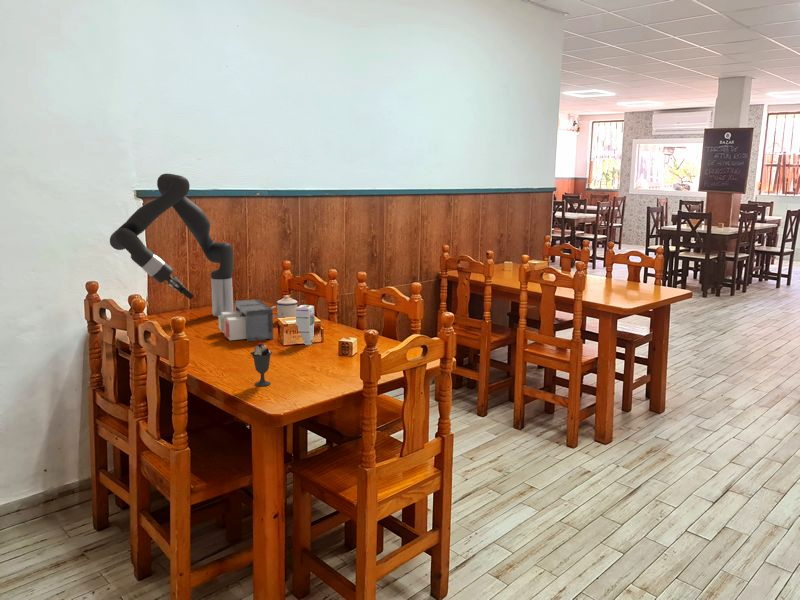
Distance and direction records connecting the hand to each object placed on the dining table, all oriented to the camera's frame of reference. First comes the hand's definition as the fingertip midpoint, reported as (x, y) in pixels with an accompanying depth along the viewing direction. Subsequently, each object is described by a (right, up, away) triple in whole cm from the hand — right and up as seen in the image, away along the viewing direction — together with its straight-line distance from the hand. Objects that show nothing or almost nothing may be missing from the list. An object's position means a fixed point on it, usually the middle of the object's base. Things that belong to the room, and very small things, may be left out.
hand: (191, 297), depth 256 cm
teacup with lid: (+31, -11, +29) cm, 44 cm away
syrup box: (+46, -18, -5) cm, 49 cm away
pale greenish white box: (+14, -14, +10) cm, 22 cm away
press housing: (+23, -15, +8) cm, 28 cm away
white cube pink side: (+19, -16, 0) cm, 25 cm away
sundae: (+39, -27, -54) cm, 72 cm away
